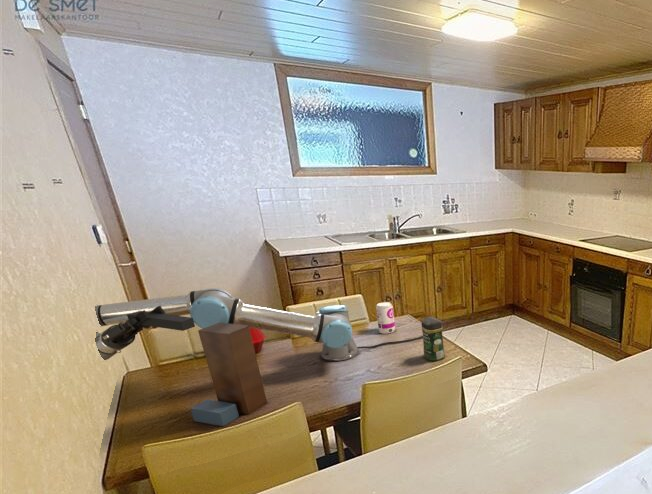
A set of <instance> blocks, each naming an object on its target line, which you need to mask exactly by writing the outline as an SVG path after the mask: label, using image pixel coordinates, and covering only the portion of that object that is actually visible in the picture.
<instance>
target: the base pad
mask: <svg viewBox="0 0 652 494" xmlns="http://www.w3.org/2000/svg"><path fill="white" fill-rule="evenodd" d="M190 411H191V415H192V417H193V421H194V422H198V423H202V424H203V423H204V424H207V425H208V424H209V425H215V426H221V427H224V426H226V425H228V424H230V423H231V422H233V421H235V420H236V419H237V418H239V417H240V415H239V414H240V413H238V410H237V407H236V404H233V403H226V402H220V401H218V400H214V399H205V400H203V401H201V402H200V403H197V404H196V405H193V406H192V407H190Z"/></svg>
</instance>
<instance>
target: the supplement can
mask: <svg viewBox="0 0 652 494" xmlns="http://www.w3.org/2000/svg"><path fill="white" fill-rule="evenodd" d="M375 309H376V311H375V312H376V319H377V326H378V328H377V329H378V332H379V333H380V334H383V335H388V334H393V333H394V332H395V331H396V324H395V323H396V322H395V314H394V306H393V304H392V302H389V301H383V302H382V301H381V302H379V303H377V304H376V306H375Z"/></svg>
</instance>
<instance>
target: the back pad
mask: <svg viewBox="0 0 652 494" xmlns="http://www.w3.org/2000/svg"><path fill="white" fill-rule="evenodd" d="M140 312H141V311H137V312H134V313H130V314H127V317H128V320H132V319H131V318H133V317H134V316H136V315H137V314H139V313H140ZM146 313H147V314H148V315H149V317H150V318H149V319H148V320H146V321H145V322H143V323H142V324H141V325H145V326H151V327H153V328H160V329H168V330H174V331H180V332H181V331H182V332H184V331H186V330H187V331H188V330H189V329H192V328H195V327H196V324H195V323H194V320H193V318H191V316H184V315H181V316H176V315H168V314H161V313H153V312H146Z"/></svg>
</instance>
